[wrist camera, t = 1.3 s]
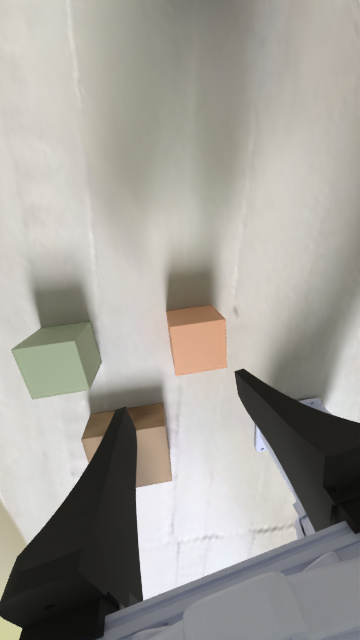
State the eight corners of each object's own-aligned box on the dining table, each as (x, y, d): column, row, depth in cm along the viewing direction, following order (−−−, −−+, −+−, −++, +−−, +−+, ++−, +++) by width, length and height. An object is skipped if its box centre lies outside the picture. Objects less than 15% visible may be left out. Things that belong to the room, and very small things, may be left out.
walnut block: (163, 401, 27) (164, 425, 23) (169, 451, 30) (172, 480, 26) (91, 412, 26) (81, 439, 22) (105, 462, 29) (98, 494, 25)
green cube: (91, 320, 22) (74, 340, 17) (101, 361, 24) (89, 390, 19) (41, 327, 22) (10, 349, 17) (56, 368, 23) (32, 399, 19)
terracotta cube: (210, 304, 23) (225, 319, 18) (212, 344, 25) (226, 367, 20) (166, 310, 23) (169, 327, 18) (171, 351, 24) (175, 375, 20)
